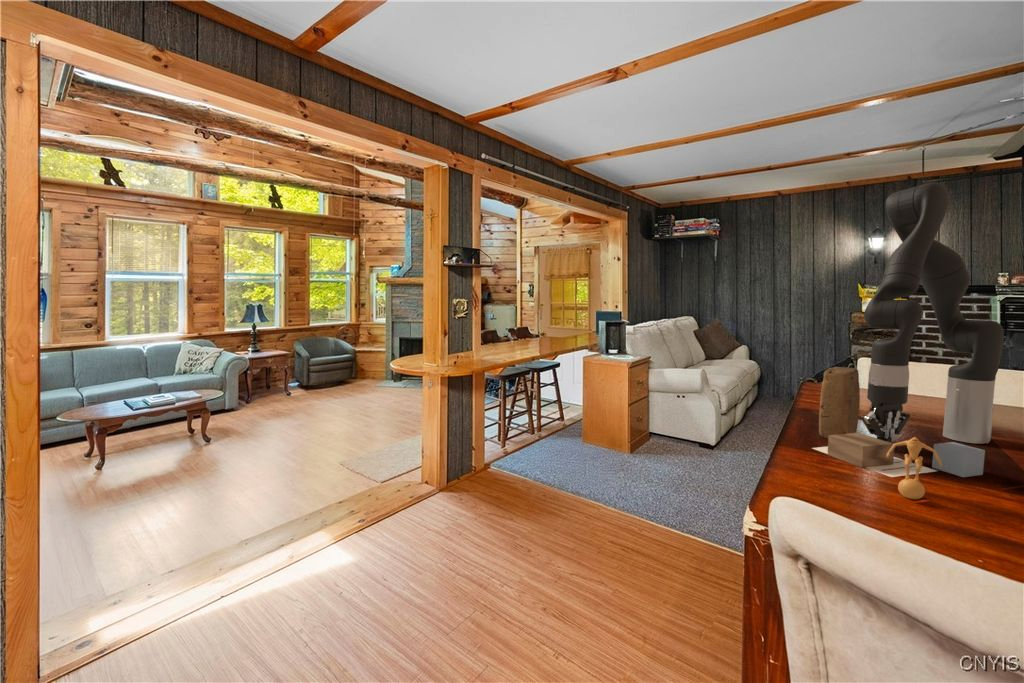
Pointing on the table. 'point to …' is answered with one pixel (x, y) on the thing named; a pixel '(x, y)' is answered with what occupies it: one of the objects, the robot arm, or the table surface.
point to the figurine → (913, 486)
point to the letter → (891, 466)
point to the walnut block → (860, 449)
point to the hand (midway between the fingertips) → (883, 451)
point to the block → (839, 402)
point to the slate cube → (959, 459)
